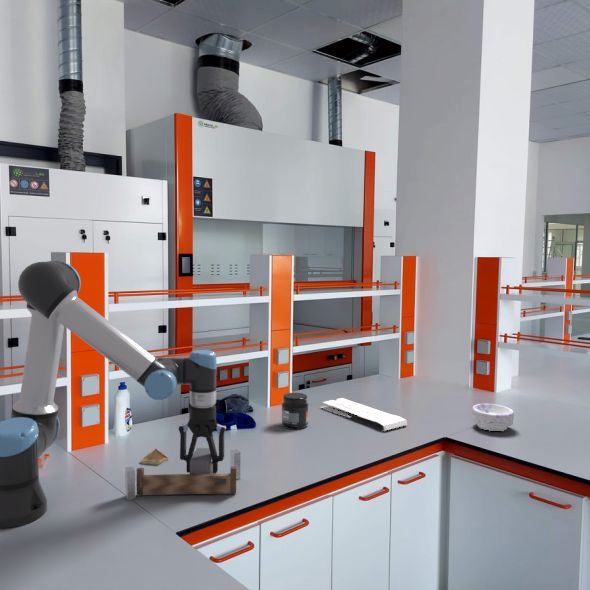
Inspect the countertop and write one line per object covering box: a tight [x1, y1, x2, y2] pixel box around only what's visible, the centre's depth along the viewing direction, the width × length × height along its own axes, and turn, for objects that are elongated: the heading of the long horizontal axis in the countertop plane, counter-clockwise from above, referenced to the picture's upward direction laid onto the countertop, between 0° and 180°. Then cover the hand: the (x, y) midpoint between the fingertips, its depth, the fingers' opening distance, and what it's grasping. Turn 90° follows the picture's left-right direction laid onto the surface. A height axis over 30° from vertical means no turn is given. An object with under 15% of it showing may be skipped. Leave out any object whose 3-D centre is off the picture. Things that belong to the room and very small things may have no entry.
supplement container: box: [281, 392, 309, 430], centre depth 215 cm, size 10×10×12 cm
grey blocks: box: [124, 448, 241, 501], centre depth 158 cm, size 33×3×8 cm, turn 118°
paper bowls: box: [471, 403, 515, 432], centre depth 215 cm, size 15×15×8 cm
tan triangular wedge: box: [140, 448, 169, 466], centre depth 180 cm, size 11×8×2 cm
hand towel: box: [319, 397, 408, 432], centre depth 228 cm, size 12×4×40 cm
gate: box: [136, 466, 237, 496], centre depth 153 cm, size 27×3×7 cm, turn 94°
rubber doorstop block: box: [189, 447, 212, 474], centre depth 159 cm, size 5×10×9 cm, turn 178°
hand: (202, 483), depth 160 cm, fingers closed on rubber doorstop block, 5 cm apart
